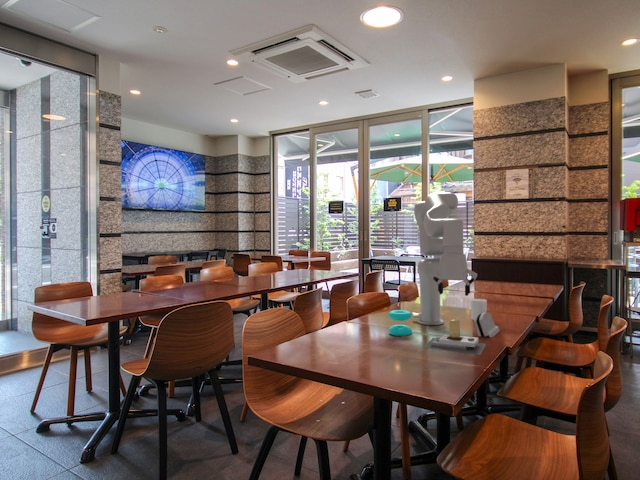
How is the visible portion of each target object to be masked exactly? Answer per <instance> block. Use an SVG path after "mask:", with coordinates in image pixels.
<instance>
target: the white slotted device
mask: <svg viewBox="0 0 640 480" xmlns="http://www.w3.org/2000/svg"><path fill="white" fill-rule="evenodd" d="M473 323H474V327H475V330H476V334H477V336H478V337H489V338H494V337H495V336H496V335H497V334H499V332H501V330H500V328H499V326H498V325H496V324H495V321H494V320H493V317H492V314H491V313H490V312H486V313H482V314H479V315H477V316H476V317H475V319H474V320H473Z"/></svg>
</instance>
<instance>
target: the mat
mask: <svg viewBox="0 0 640 480" xmlns="http://www.w3.org/2000/svg"><path fill="white" fill-rule="evenodd" d="M435 338H436V337H433V338H431V339H430V340H429V341H428V342H427V343H425V344H424V346H422V348H423V349H428V350H436V351H445V352H453V353H461V354H469V355H470V354H471V355H477V356H479V355H482V353H483V352H484V350H485V348H486V346H487V343H481V342H478V343H477V345H476V346H475V347H474V348H473V349H471V348H468V349H467V350H459V349H450V348H442V347H433V346H431V342H432V341H433V340H434V339H435Z"/></svg>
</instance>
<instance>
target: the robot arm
mask: <svg viewBox="0 0 640 480" xmlns="http://www.w3.org/2000/svg"><path fill="white" fill-rule="evenodd" d="M458 199H459V198H458V196H457V195H456V194H455V192H446V191H445V192H432V193H429V194H428V195H426V197H425V199H424V200H423V201H419V202H417V203H415V205H414V207H413V211H414V212H413V213H414V219H415V221H416V223H417V227H418V237H419V252H420V253H421V255H422V256H427V257H434V256H435V257H439V256H440V258H423V259H420V260H419V261H418V264H417V273H418V277H419V278H418V279H419V300H420V301H419V302H420V303H419V307H420V308H419V309H420V311H419V312H418V313H416V312H411V314H412V317H413V318H417V321H416V322H417V323H418V324H421V325H427V326H437V325H439V326H440V325H443V324H444V322H445V321H444V319H442V318H441V295H442V294H444V283H443V282H444V281H463V283H465V285H464V296H466V297H468V296H469V294H471V284H473V283H474V281H475V280H476V279H477V277H478V273H476V272H475V271H473V270H470V269H469V268H468V262H467V261H468V260H467V254H465V253H464V251H465V250H464V222H463V220H462V219H461V218H450V217H452V215H453V214H454V213H455V212H456V210H457V208H458V205H459V200H458ZM469 275H471V276H472V277H471V279H469V278H468V276H469Z"/></svg>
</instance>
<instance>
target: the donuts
mask: <svg viewBox="0 0 640 480" xmlns="http://www.w3.org/2000/svg"><path fill="white" fill-rule="evenodd" d="M388 317H389V319H390V320H393V321H396V322H397V321H399V322H404V321H405V322H406V321H409V320H410V319H411V318H412V317H413V316H412V312H410V311H408V310H405V309H404V310H403V309H394V310H390V311H389V312H388ZM388 332H389V334H390V335H392V336H395V337H396V336H397V337H403V336H410V335H411V334H412V333H413V329H412V328H411V327H410V326H409V325H406V324H405V325H404V324H393V325H391V326H390V327H389V328H388Z"/></svg>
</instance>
